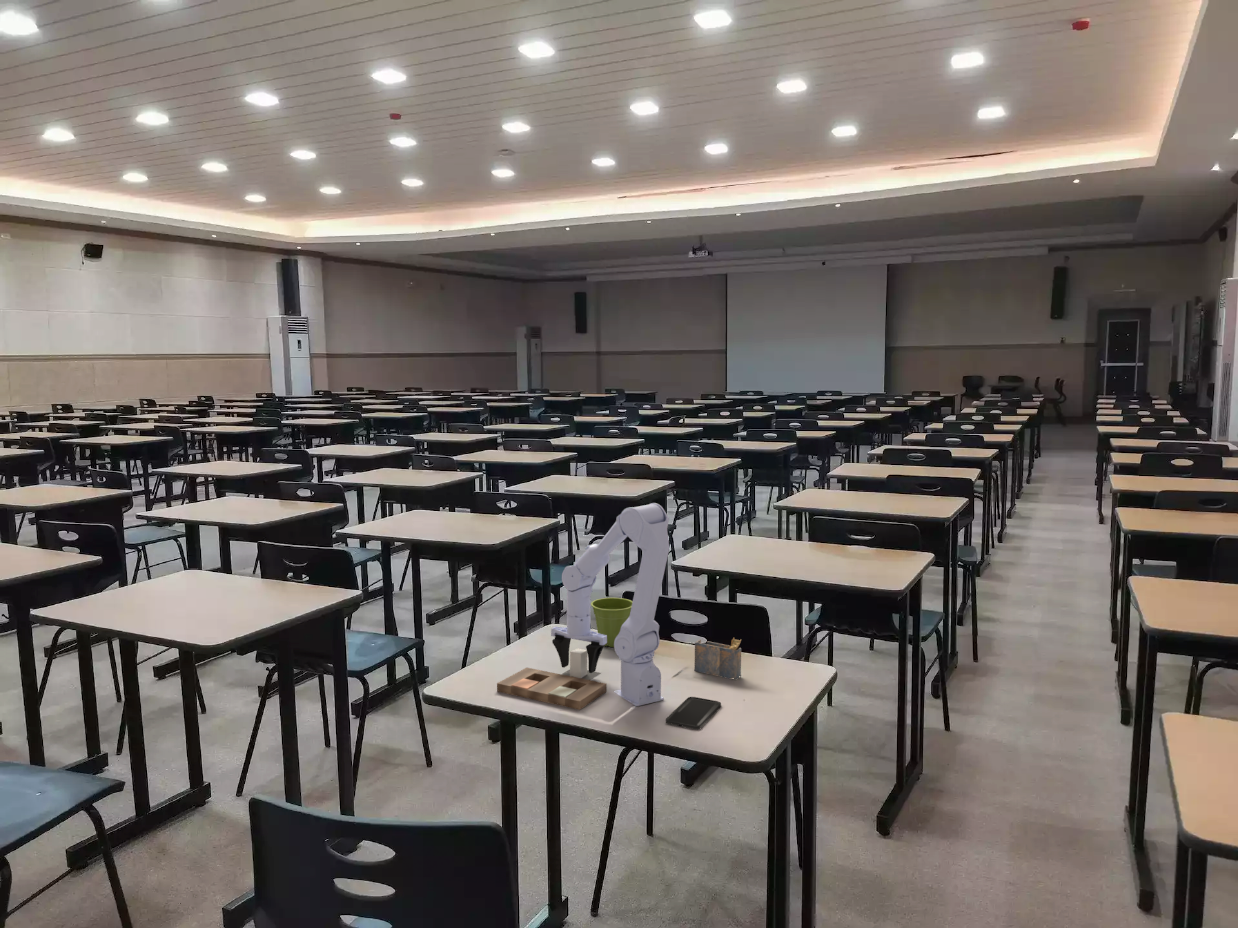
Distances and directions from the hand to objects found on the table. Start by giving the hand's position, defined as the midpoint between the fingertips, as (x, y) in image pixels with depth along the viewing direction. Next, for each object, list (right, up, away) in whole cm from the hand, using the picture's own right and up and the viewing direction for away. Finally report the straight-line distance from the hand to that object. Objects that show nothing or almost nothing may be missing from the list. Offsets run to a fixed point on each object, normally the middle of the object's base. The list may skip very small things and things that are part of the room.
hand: (578, 668), depth 203 cm
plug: (0, -2, 0) cm, 2 cm away
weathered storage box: (+34, -3, +4) cm, 34 cm away
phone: (+26, -5, -21) cm, 34 cm away
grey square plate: (0, -2, 0) cm, 2 cm away
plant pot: (+8, 0, +26) cm, 27 cm away
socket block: (-6, -3, -10) cm, 12 cm away
